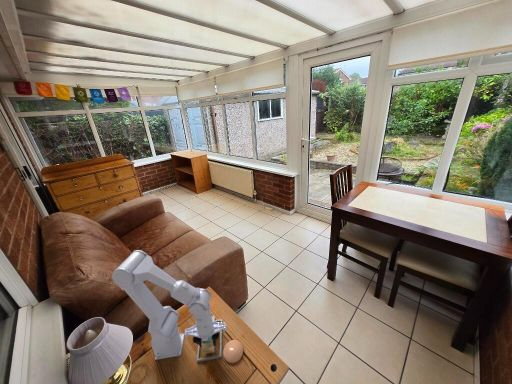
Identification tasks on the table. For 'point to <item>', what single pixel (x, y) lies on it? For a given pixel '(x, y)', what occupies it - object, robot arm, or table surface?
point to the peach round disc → (233, 351)
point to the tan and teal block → (208, 346)
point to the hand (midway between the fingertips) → (208, 344)
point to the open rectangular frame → (211, 356)
